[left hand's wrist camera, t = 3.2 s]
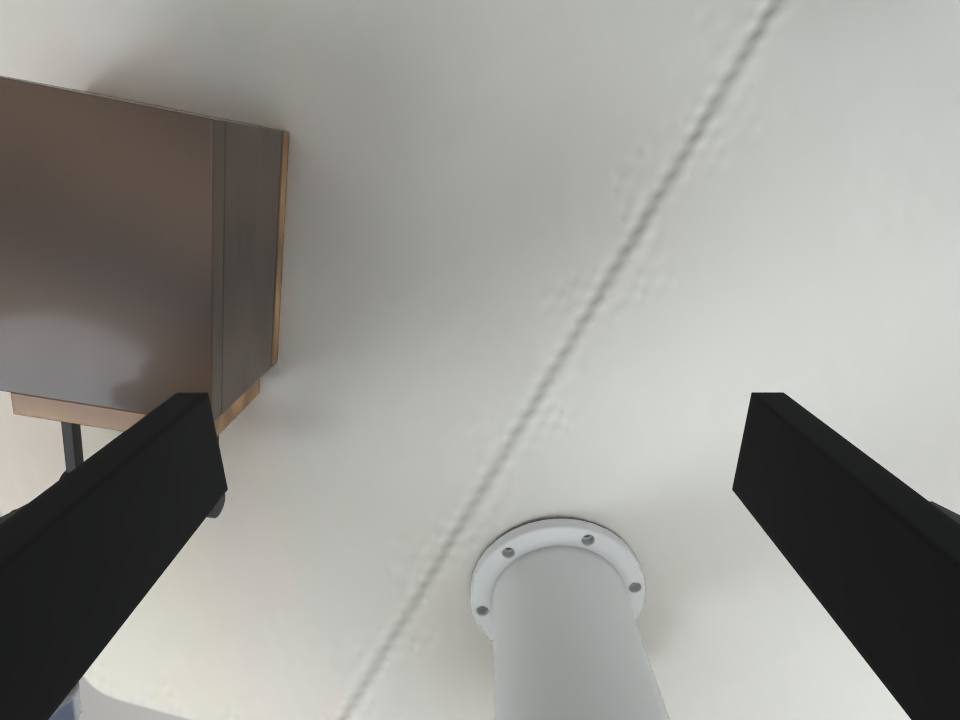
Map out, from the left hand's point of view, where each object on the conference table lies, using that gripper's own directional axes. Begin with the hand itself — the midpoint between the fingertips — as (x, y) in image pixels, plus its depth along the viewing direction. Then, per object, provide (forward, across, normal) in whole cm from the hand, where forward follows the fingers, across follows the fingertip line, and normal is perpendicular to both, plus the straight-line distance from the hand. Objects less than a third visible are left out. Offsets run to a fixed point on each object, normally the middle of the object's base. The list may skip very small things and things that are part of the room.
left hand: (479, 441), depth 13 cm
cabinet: (+19, -16, +2) cm, 25 cm away
